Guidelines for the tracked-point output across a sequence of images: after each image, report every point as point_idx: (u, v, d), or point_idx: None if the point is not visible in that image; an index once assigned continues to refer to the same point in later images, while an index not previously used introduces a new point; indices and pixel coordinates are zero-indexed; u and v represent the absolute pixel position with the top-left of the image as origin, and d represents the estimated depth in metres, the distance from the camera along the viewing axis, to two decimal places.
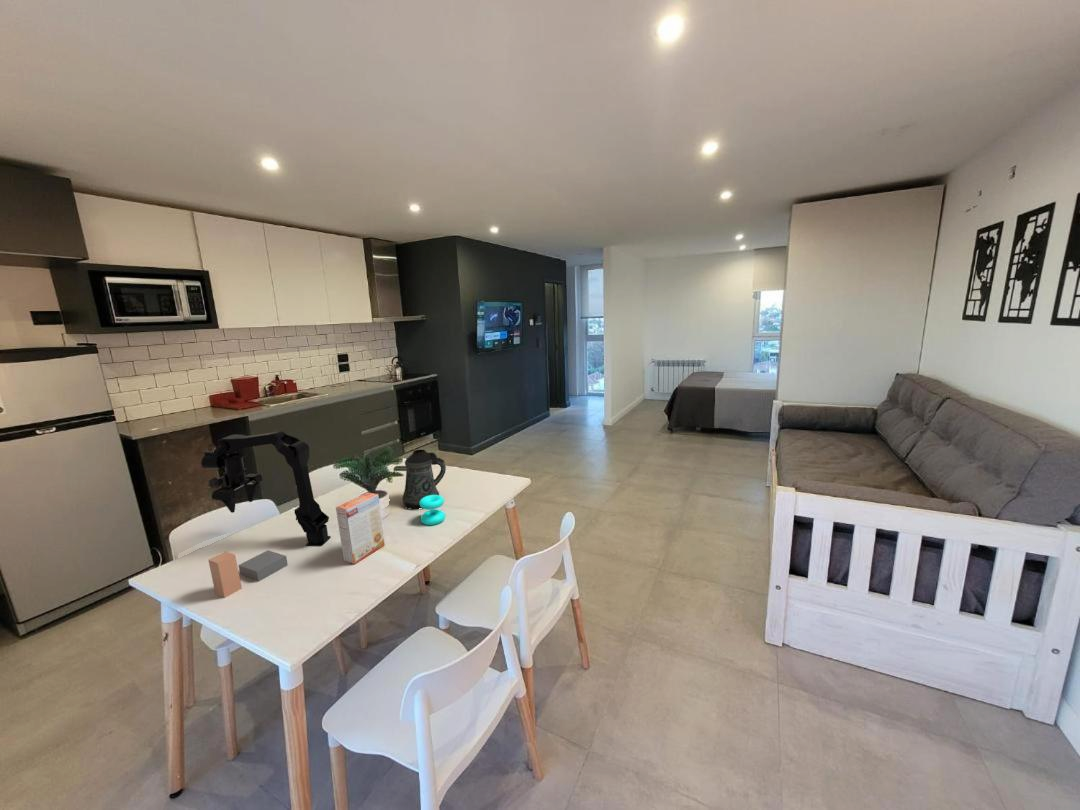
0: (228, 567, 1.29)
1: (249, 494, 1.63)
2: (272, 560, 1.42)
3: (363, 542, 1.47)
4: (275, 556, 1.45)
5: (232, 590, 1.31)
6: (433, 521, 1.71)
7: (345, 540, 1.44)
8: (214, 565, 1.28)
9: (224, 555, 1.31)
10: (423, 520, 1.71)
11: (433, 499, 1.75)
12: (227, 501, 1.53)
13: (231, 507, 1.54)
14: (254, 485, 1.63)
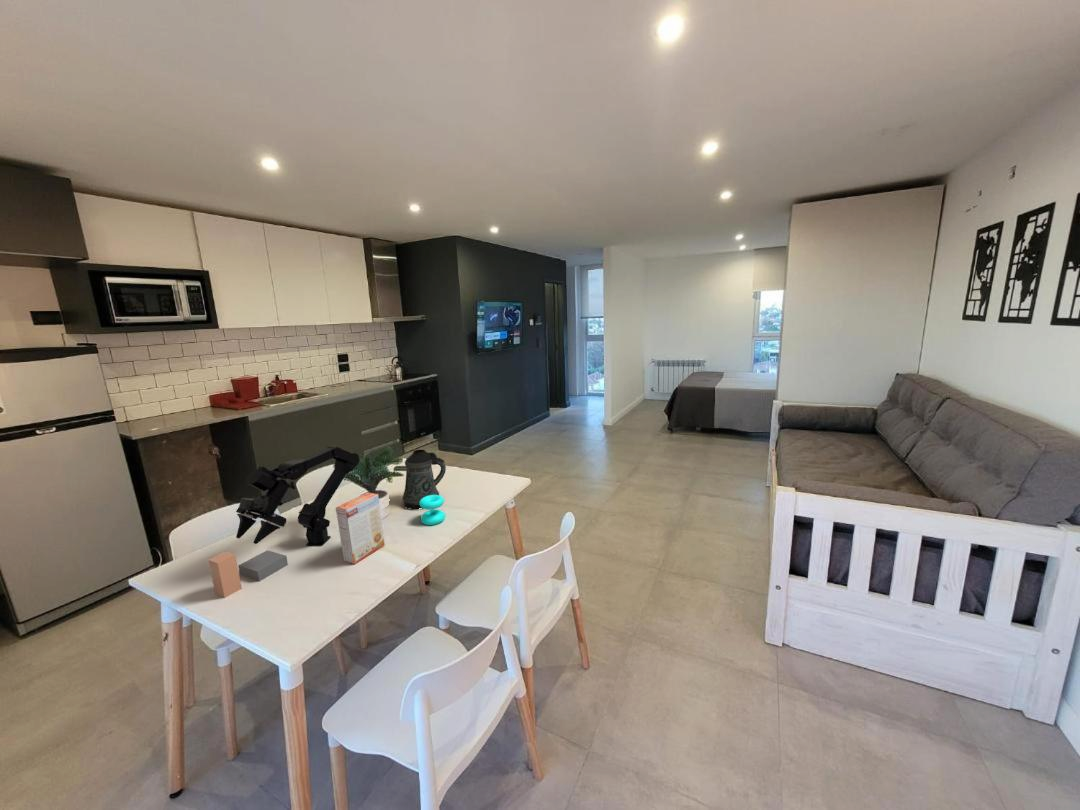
0: (227, 567, 1.29)
1: (243, 529, 1.40)
2: (272, 560, 1.43)
3: (363, 542, 1.47)
4: (276, 556, 1.45)
5: (232, 590, 1.31)
6: (433, 521, 1.71)
7: (345, 540, 1.44)
8: (214, 565, 1.28)
9: (224, 555, 1.31)
10: (423, 520, 1.71)
11: (433, 499, 1.76)
12: (265, 529, 1.36)
13: (262, 537, 1.36)
14: (254, 520, 1.43)
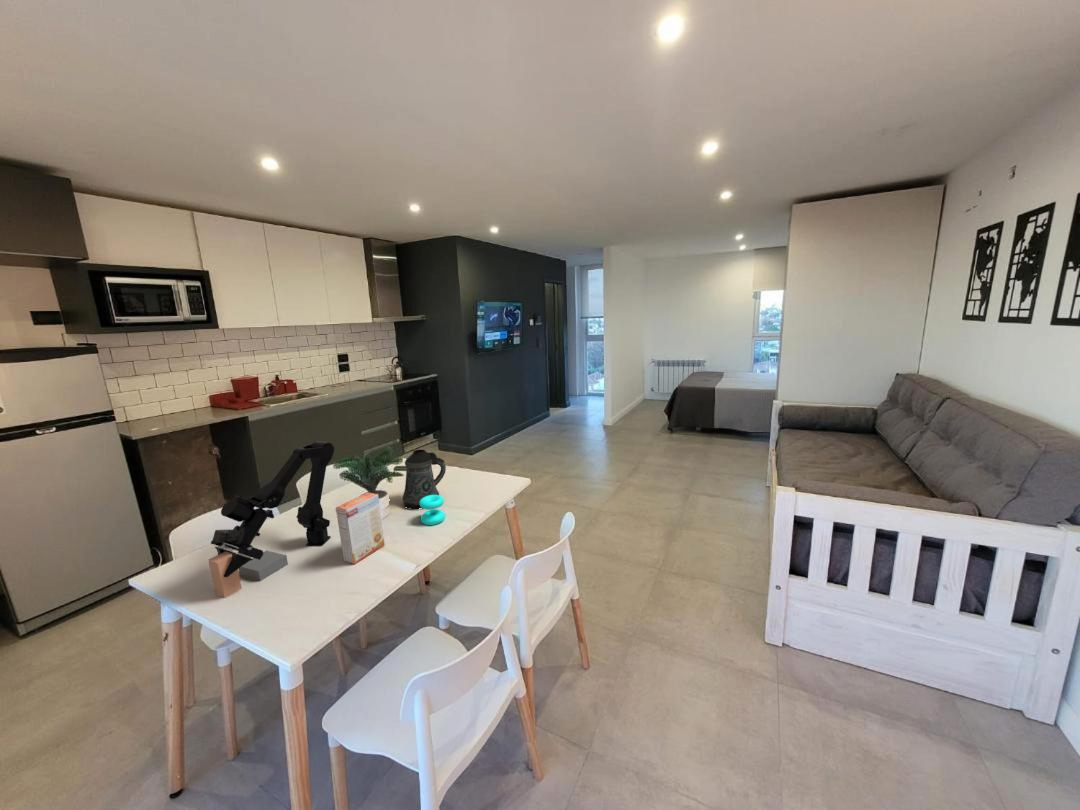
0: (227, 567, 1.29)
1: None
2: (272, 560, 1.43)
3: (363, 542, 1.47)
4: (275, 556, 1.45)
5: (232, 590, 1.31)
6: (433, 521, 1.71)
7: (345, 540, 1.44)
8: (214, 565, 1.28)
9: (224, 555, 1.31)
10: (423, 520, 1.71)
11: (433, 499, 1.75)
12: (236, 561, 1.30)
13: (233, 570, 1.30)
14: None
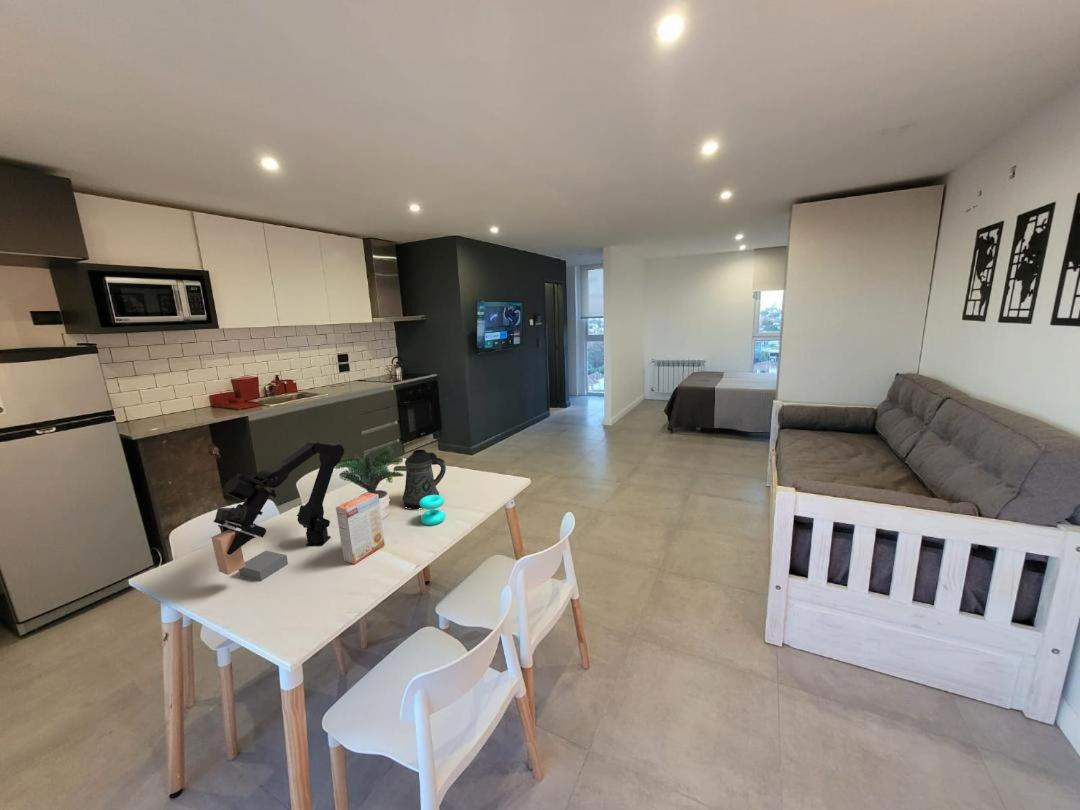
0: None
1: None
2: (272, 559, 1.43)
3: (363, 542, 1.47)
4: (276, 556, 1.45)
5: (235, 567, 1.32)
6: (433, 521, 1.71)
7: (345, 540, 1.44)
8: (217, 543, 1.28)
9: (226, 533, 1.31)
10: (423, 520, 1.71)
11: (433, 499, 1.75)
12: (240, 539, 1.31)
13: (236, 547, 1.31)
14: None
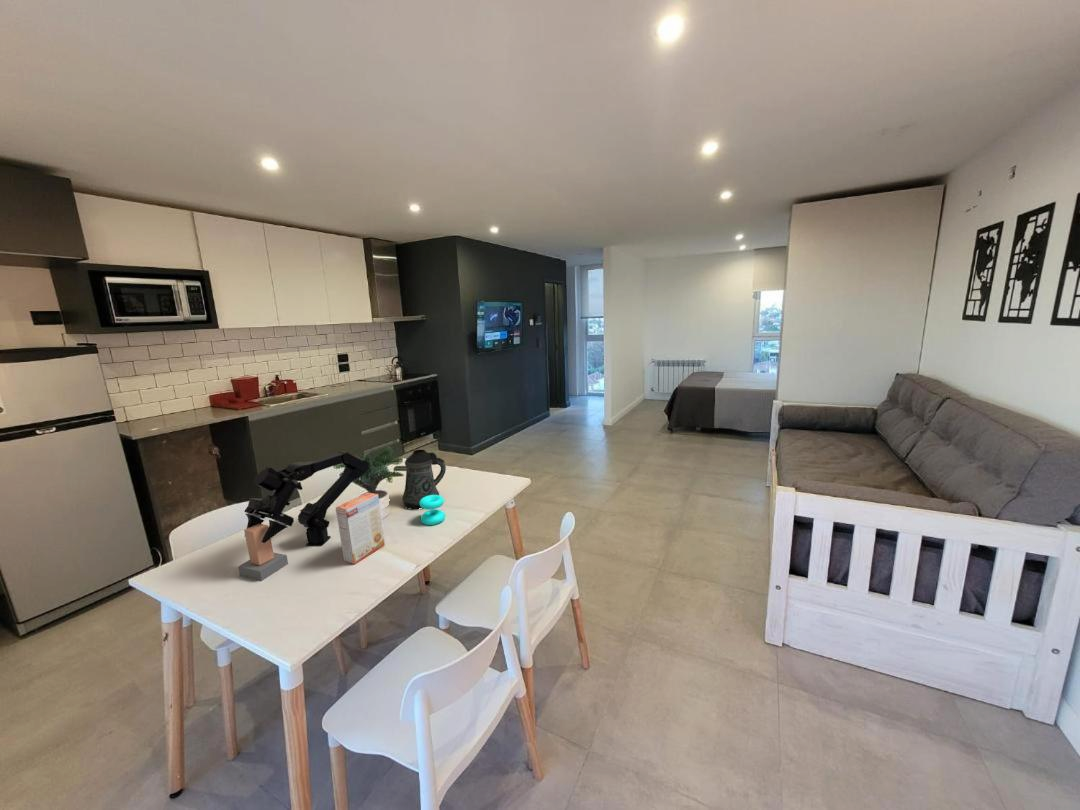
0: (262, 536, 1.40)
1: None
2: (273, 559, 1.43)
3: (363, 542, 1.47)
4: (276, 556, 1.45)
5: (266, 558, 1.41)
6: (433, 521, 1.71)
7: (345, 540, 1.44)
8: (249, 535, 1.38)
9: (258, 526, 1.42)
10: (423, 520, 1.71)
11: (433, 499, 1.75)
12: (273, 528, 1.40)
13: (270, 536, 1.39)
14: (262, 520, 1.47)
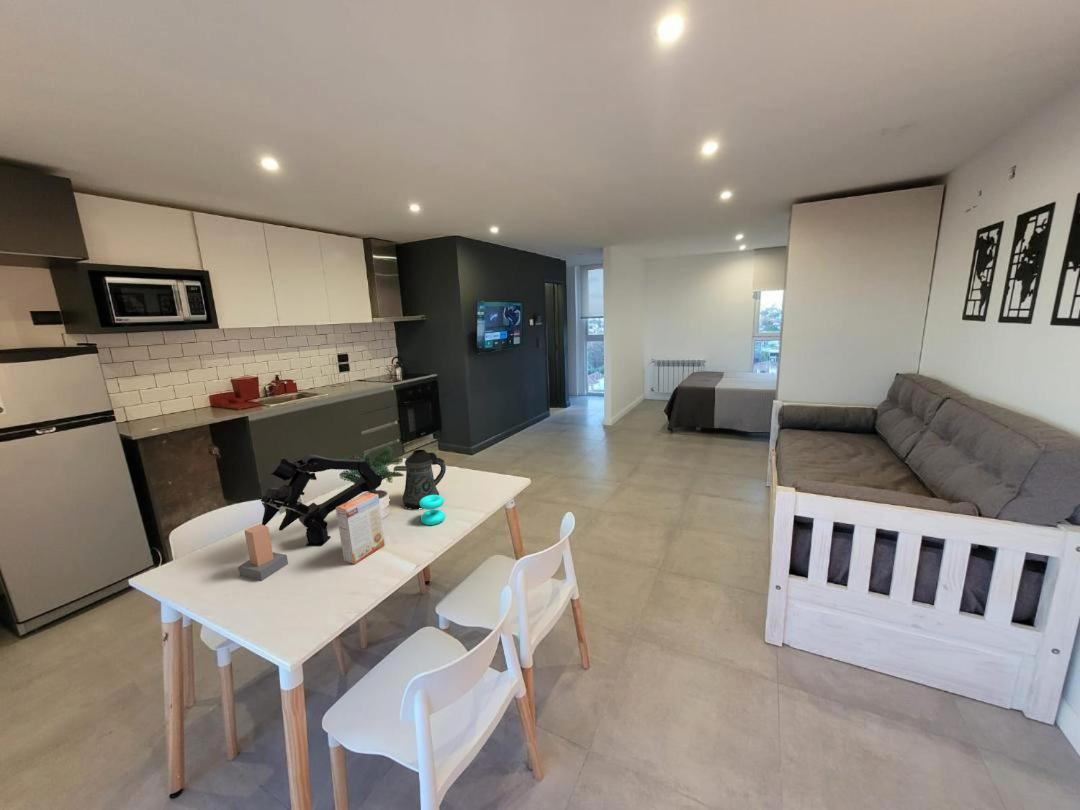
0: (261, 538, 1.40)
1: (267, 517, 1.48)
2: (273, 559, 1.43)
3: (363, 542, 1.47)
4: (276, 556, 1.45)
5: (265, 560, 1.41)
6: (433, 521, 1.71)
7: (345, 540, 1.44)
8: (249, 536, 1.38)
9: (258, 527, 1.41)
10: (423, 520, 1.71)
11: (433, 499, 1.76)
12: (289, 516, 1.45)
13: (287, 524, 1.44)
14: (277, 509, 1.52)
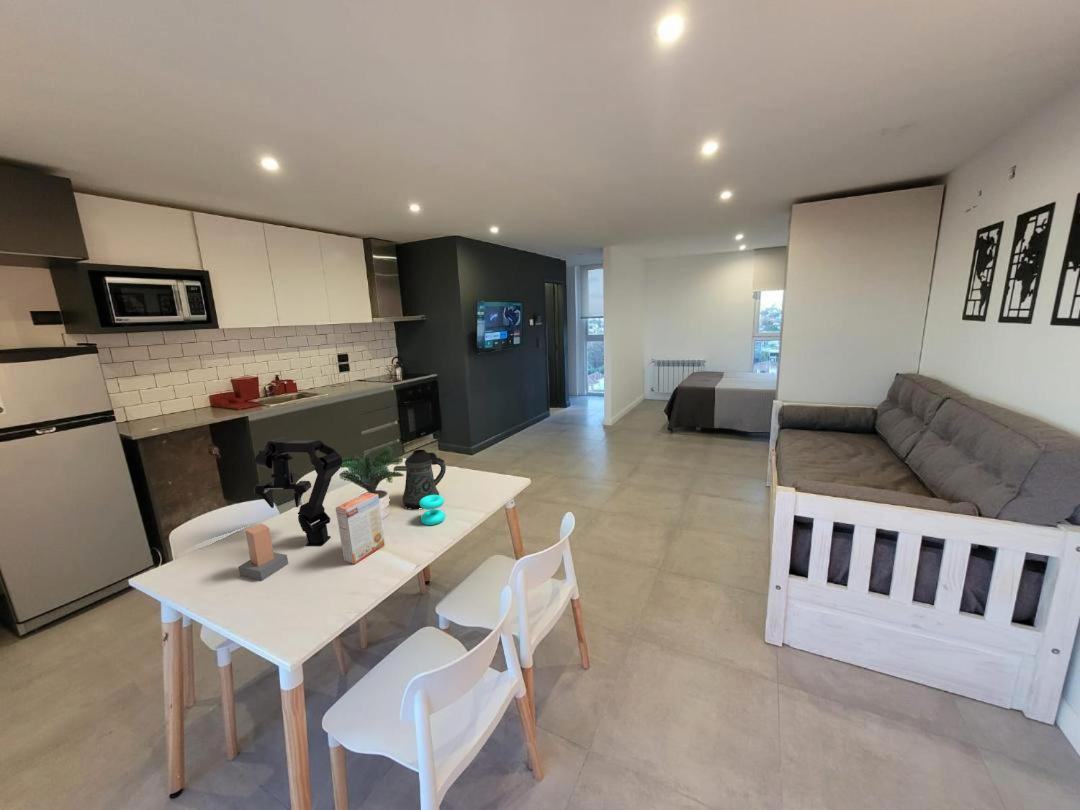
0: (262, 538, 1.39)
1: None
2: (273, 559, 1.43)
3: (363, 542, 1.47)
4: (276, 556, 1.45)
5: (265, 559, 1.41)
6: (433, 521, 1.71)
7: (345, 540, 1.44)
8: (250, 536, 1.38)
9: (259, 527, 1.41)
10: (423, 520, 1.71)
11: (433, 499, 1.76)
12: None
13: None
14: None
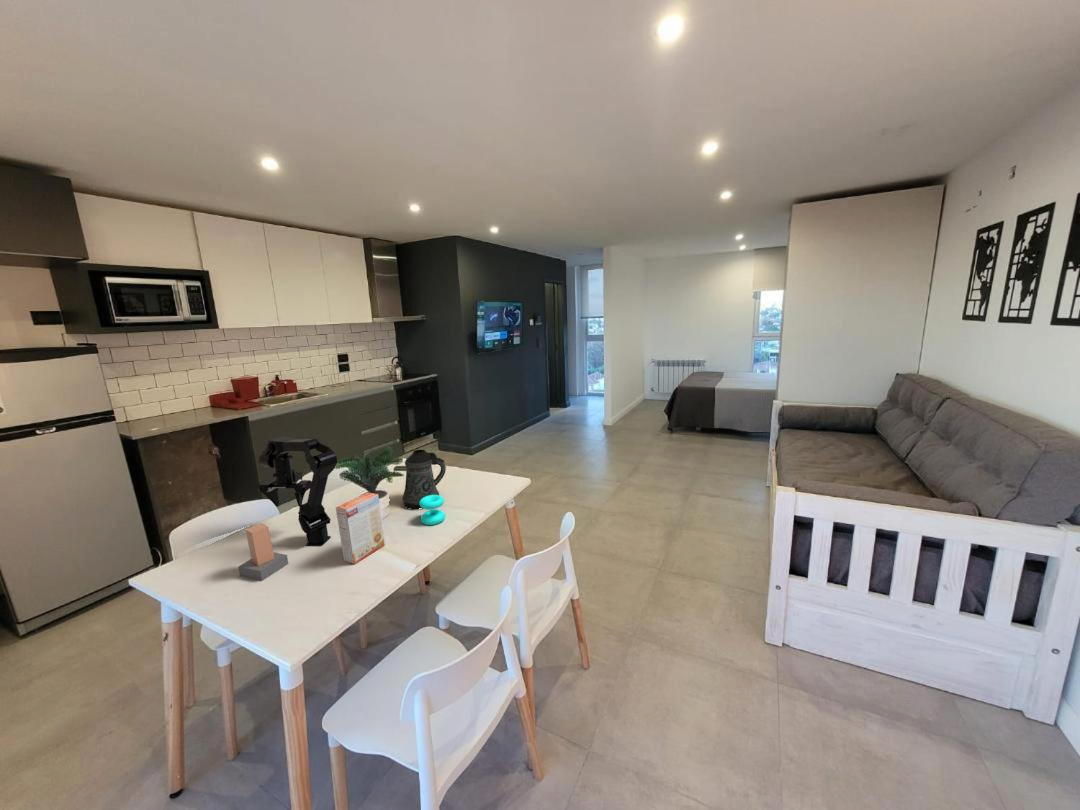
0: (261, 537, 1.40)
1: None
2: (273, 559, 1.43)
3: (363, 542, 1.47)
4: (276, 556, 1.45)
5: (265, 559, 1.41)
6: (433, 521, 1.71)
7: (345, 540, 1.44)
8: (249, 535, 1.39)
9: (259, 526, 1.41)
10: (423, 520, 1.71)
11: (433, 499, 1.75)
12: None
13: None
14: None
